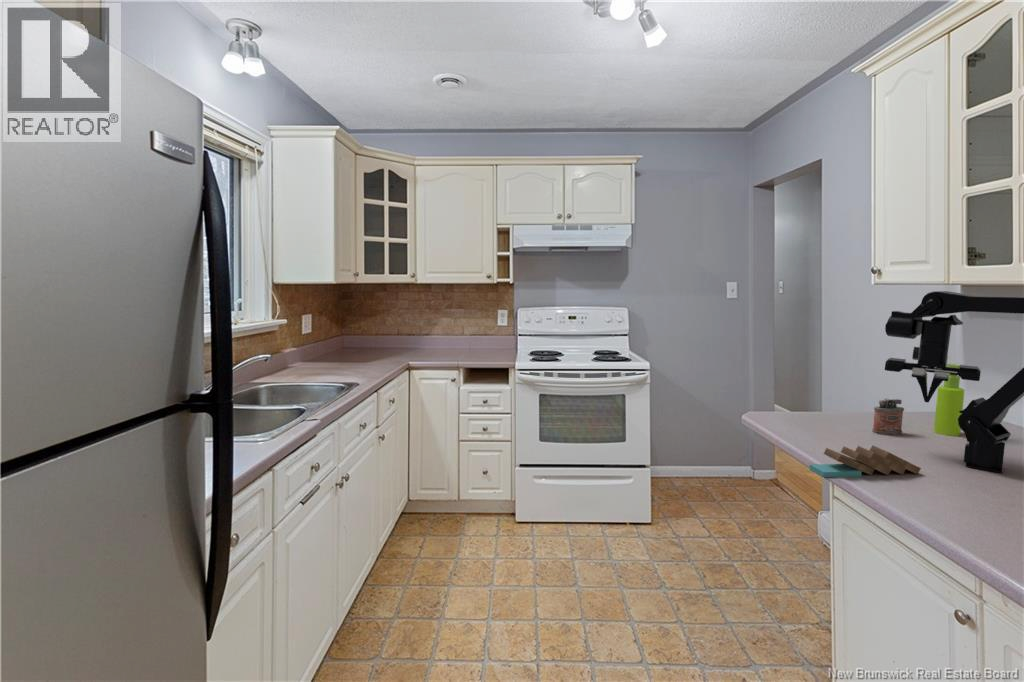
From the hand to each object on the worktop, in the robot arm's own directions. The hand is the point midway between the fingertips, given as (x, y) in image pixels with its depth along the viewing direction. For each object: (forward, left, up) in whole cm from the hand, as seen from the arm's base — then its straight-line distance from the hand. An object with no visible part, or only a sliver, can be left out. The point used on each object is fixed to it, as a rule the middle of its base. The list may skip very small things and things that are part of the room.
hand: (926, 402), depth 136 cm
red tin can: (+10, -15, -13) cm, 22 cm away
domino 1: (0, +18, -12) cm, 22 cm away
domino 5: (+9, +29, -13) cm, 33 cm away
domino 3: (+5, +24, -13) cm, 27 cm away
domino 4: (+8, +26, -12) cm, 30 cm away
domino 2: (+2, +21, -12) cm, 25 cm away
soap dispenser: (-2, -27, -13) cm, 30 cm away
